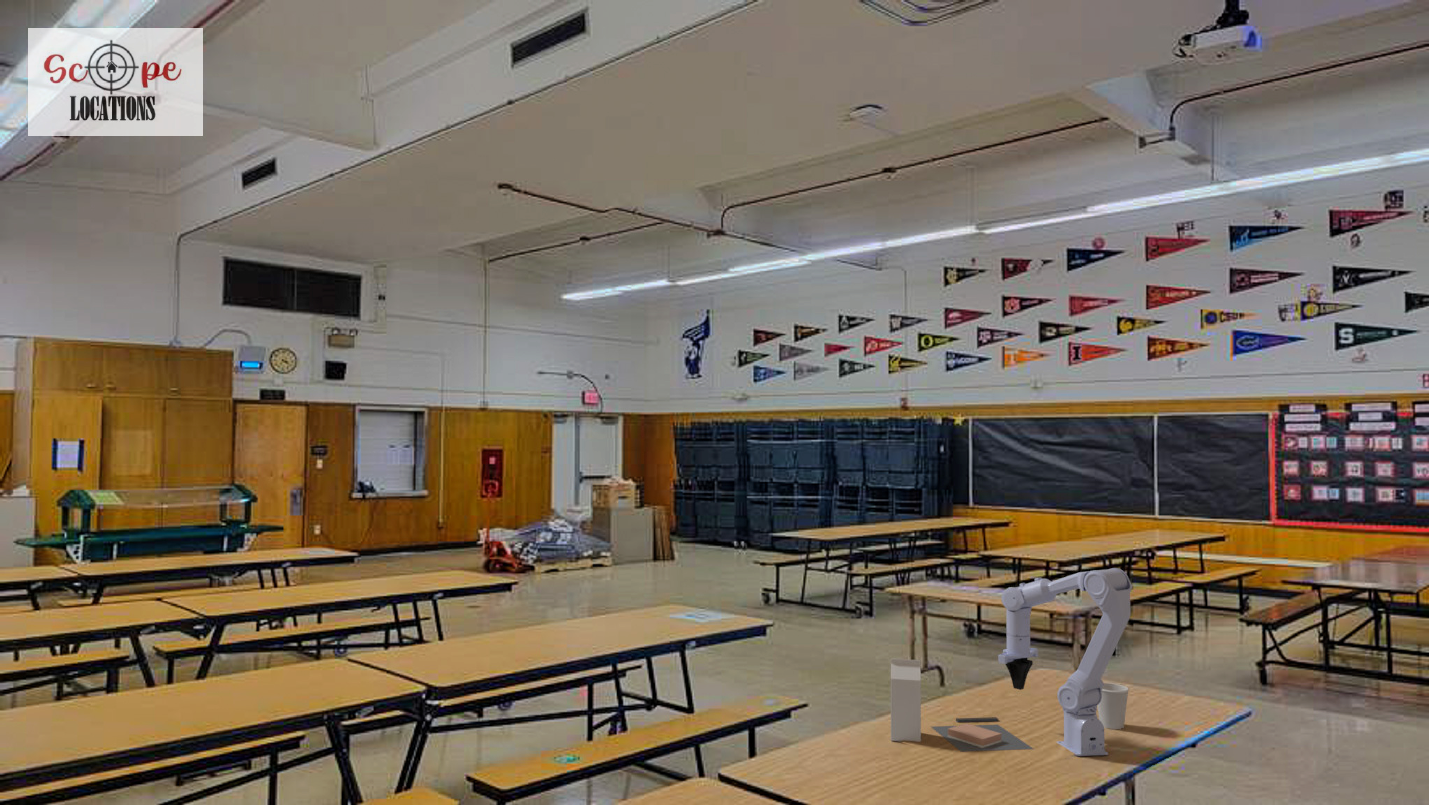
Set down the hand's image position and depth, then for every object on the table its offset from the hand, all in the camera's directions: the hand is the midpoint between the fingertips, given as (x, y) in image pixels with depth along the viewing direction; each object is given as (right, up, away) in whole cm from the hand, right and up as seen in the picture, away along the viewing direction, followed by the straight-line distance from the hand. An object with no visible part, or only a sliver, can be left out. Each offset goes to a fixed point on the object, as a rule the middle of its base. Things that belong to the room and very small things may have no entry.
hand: (1018, 688), depth 229 cm
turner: (-13, -11, +5) cm, 17 cm away
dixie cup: (+26, -11, +4) cm, 28 cm away
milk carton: (-30, -10, -8) cm, 33 cm away
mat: (-12, -10, -8) cm, 18 cm away
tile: (-11, -8, -8) cm, 16 cm away
